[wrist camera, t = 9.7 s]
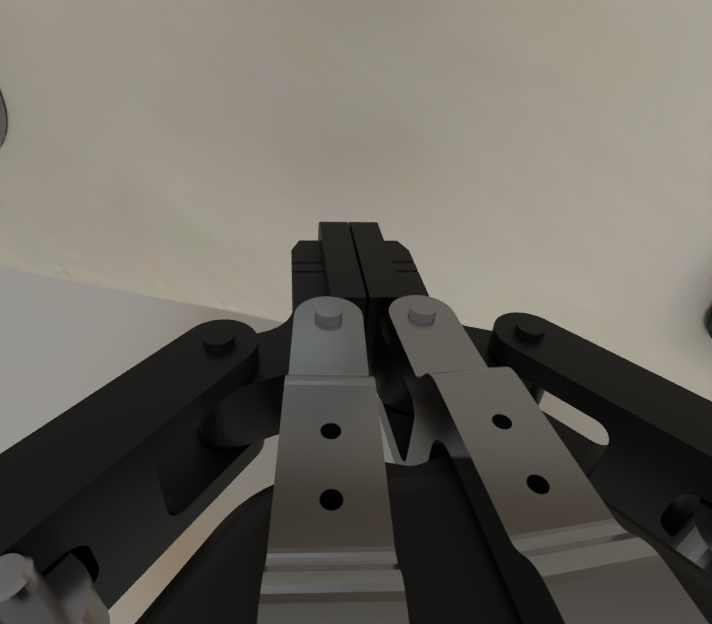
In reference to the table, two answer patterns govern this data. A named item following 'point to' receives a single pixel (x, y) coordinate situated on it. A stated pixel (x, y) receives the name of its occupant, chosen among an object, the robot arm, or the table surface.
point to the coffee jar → (710, 326)
